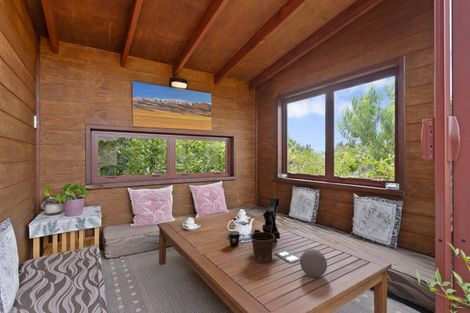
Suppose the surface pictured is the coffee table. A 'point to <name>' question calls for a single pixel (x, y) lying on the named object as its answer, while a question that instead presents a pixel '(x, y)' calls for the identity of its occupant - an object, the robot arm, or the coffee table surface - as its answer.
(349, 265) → the coffee table surface
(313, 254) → the decorative ball
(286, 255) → the panel
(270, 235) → the plant pot
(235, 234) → the coffee mug
